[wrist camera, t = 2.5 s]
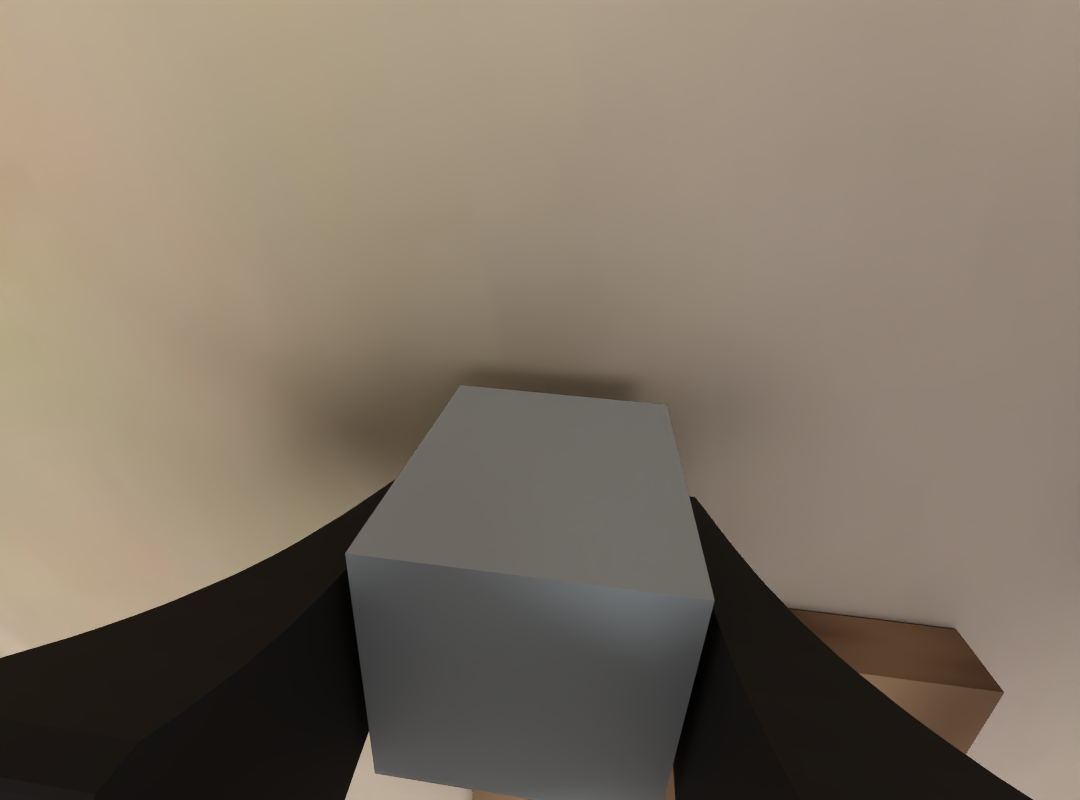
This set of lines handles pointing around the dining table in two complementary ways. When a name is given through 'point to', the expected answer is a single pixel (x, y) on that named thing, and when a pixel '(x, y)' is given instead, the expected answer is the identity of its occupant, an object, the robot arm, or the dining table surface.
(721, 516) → the dining table surface
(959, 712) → the board
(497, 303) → the dining table surface
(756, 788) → the robot arm
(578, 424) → the block
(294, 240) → the dining table surface
